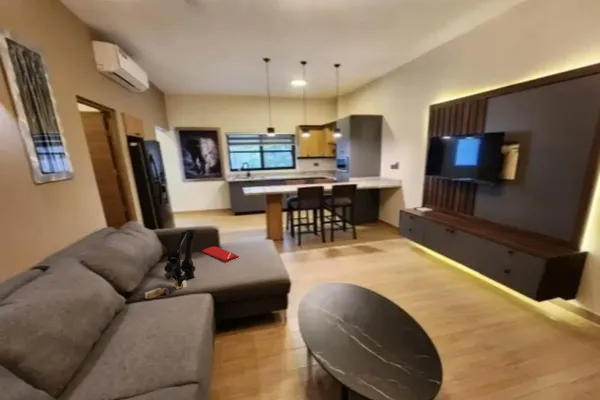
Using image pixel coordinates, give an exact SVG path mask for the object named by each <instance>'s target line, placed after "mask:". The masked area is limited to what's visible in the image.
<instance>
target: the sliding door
mask: <svg viewBox="0 0 600 400" xmlns="http://www.w3.org/2000/svg"><path fill="white" fill-rule="evenodd" d="M164 294H166V295H169V294H170V290H169V289H168V288H167V287H164V288H161V289H160V290H158V291H155V292H152V293H149V294H148V298H147V300H148V299H149V300H150V299H152V298H153V299H154V298H155V297H156V298H157V297H159V296H162V295H164Z"/></svg>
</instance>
